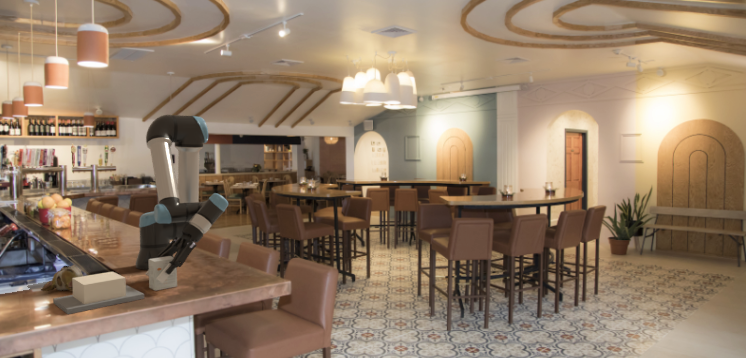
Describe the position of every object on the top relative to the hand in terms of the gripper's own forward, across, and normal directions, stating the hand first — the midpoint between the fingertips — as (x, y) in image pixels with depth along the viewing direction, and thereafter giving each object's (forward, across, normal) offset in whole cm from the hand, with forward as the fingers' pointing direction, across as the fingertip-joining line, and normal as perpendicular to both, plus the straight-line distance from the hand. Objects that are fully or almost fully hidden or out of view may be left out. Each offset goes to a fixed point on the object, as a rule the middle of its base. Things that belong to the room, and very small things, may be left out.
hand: (153, 278), depth 168 cm
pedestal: (+15, -1, +10) cm, 18 cm away
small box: (0, 0, -5) cm, 5 cm away
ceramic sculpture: (+18, +23, +12) cm, 31 cm away
